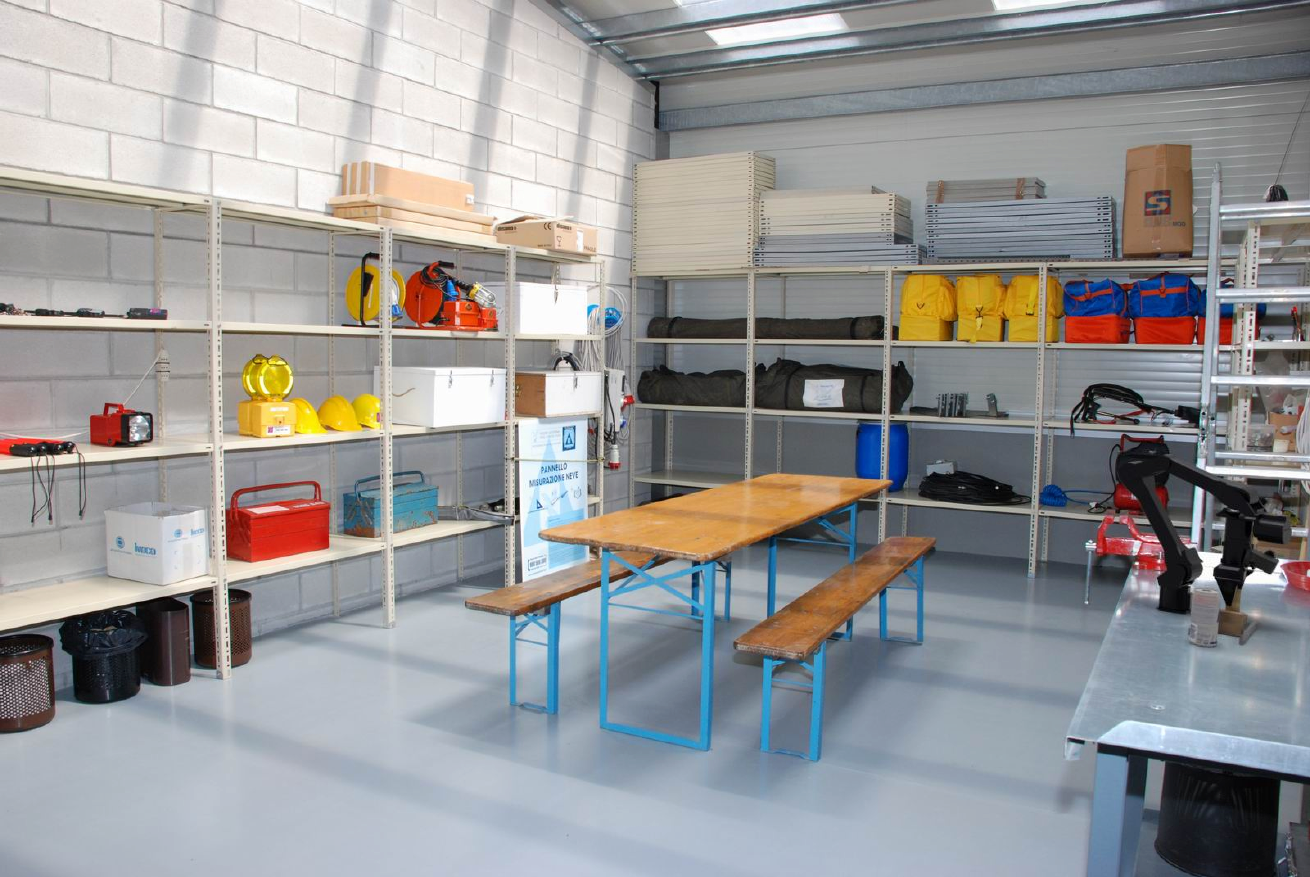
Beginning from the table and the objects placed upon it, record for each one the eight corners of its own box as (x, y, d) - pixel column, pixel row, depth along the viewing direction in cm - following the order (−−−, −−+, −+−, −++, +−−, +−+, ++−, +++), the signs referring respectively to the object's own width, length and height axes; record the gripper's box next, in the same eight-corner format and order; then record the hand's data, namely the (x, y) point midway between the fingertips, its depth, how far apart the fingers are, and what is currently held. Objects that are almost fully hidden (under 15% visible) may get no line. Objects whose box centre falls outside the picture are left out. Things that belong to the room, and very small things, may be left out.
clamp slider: (1201, 629, 226) (1203, 596, 225) (1213, 616, 237) (1216, 585, 236) (1240, 636, 221) (1243, 602, 220) (1252, 623, 232) (1254, 591, 231)
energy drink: (1215, 642, 217) (1219, 589, 215) (1218, 648, 212) (1222, 594, 211) (1188, 638, 219) (1192, 586, 218) (1190, 645, 214) (1194, 591, 213)
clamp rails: (1188, 635, 222) (1188, 628, 221) (1205, 618, 236) (1206, 612, 236) (1242, 645, 215) (1243, 638, 215) (1257, 627, 229) (1257, 620, 229)
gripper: (1271, 548, 219) (1265, 616, 220) (1283, 537, 233) (1278, 601, 235) (1215, 541, 226) (1209, 607, 227) (1230, 530, 240) (1225, 592, 242)
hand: (1232, 602), depth 233 cm, fingers open, 9 cm apart
